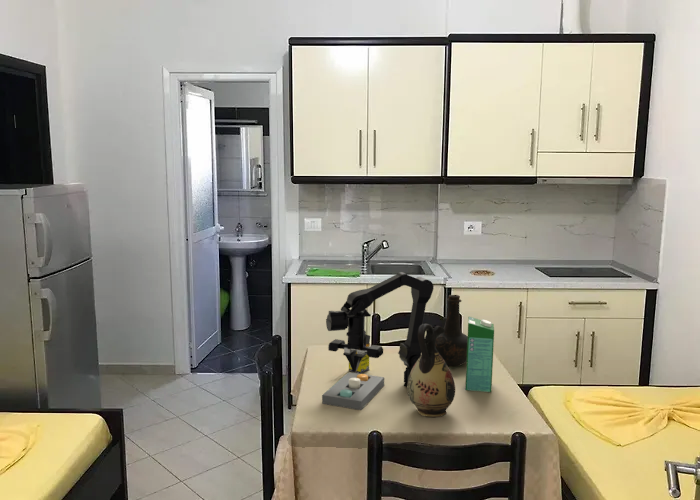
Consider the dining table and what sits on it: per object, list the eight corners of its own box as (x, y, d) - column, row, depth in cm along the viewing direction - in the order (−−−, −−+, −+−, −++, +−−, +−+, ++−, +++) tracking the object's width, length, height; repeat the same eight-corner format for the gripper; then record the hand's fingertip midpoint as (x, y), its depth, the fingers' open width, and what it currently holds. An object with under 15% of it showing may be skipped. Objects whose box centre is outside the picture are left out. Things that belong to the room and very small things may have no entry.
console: (384, 385, 219) (384, 377, 219) (361, 410, 197) (361, 401, 197) (348, 379, 224) (348, 371, 224) (322, 403, 202) (322, 395, 202)
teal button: (353, 400, 204) (353, 390, 204) (349, 404, 201) (349, 394, 200) (342, 398, 206) (342, 388, 205) (338, 402, 202) (338, 392, 202)
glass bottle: (419, 361, 245) (421, 294, 241) (447, 352, 257) (449, 288, 253) (454, 373, 232) (456, 302, 228) (481, 363, 244) (484, 296, 240)
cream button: (361, 387, 212) (361, 378, 211) (357, 391, 208) (357, 382, 207) (351, 386, 213) (351, 377, 212) (347, 390, 209) (347, 380, 209)
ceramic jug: (423, 398, 207) (425, 314, 203) (462, 410, 198) (466, 322, 193) (394, 414, 194) (396, 324, 190) (435, 428, 185) (438, 333, 180)
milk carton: (491, 392, 213) (494, 324, 210) (465, 390, 215) (468, 322, 211) (490, 383, 222) (493, 317, 218) (465, 381, 224) (468, 315, 220)
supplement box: (360, 374, 230) (361, 346, 229) (348, 370, 234) (348, 343, 232) (369, 369, 235) (370, 342, 233) (357, 366, 238) (357, 340, 237)
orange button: (369, 384, 219) (369, 375, 219) (365, 387, 215) (365, 378, 215) (359, 382, 221) (359, 373, 220) (355, 386, 217) (355, 377, 216)
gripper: (389, 326, 213) (387, 369, 215) (341, 320, 220) (340, 361, 222) (378, 334, 203) (376, 379, 205) (328, 327, 210) (327, 370, 212)
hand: (354, 372), depth 211 cm, fingers closed
